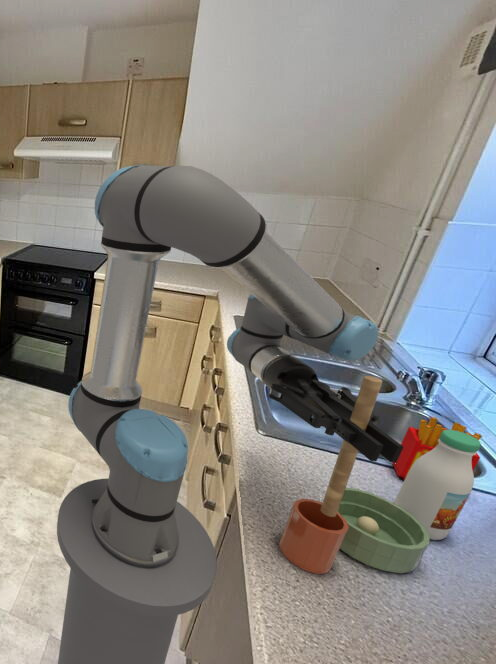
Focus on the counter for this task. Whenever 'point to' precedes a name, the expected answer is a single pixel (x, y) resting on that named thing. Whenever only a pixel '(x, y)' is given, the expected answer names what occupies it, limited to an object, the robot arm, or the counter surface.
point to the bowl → (382, 533)
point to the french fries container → (424, 444)
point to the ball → (367, 525)
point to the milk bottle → (440, 483)
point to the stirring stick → (350, 446)
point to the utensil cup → (312, 536)
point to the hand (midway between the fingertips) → (386, 453)
